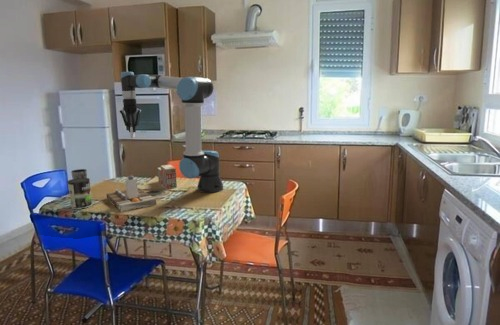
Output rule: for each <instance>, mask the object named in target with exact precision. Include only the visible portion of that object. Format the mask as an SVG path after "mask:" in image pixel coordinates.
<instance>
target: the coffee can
mask: <svg viewBox="0 0 500 325" xmlns="http://www.w3.org/2000/svg"><path fill="white" fill-rule="evenodd" d="M67 184H68V191H69V199H70V206H71V209H72V210H83V209H82V208H84V209H87V207H88V208H90V207H92V206H93V201H92V191H91V185H90V184H91V183H90V178H88V177H87V178H77V179H73V178H72V179H69V180H68V181H67Z"/></svg>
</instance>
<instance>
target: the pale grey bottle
mask: <svg viewBox="0 0 500 325" xmlns="http://www.w3.org/2000/svg"><path fill="white" fill-rule="evenodd" d="M125 188H126V189H125V190H126V191H127V198H128V199H132V198H137V197H138V188H139V187H138V179H137V177H134V175H128V176H127V178H126V179H125Z"/></svg>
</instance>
